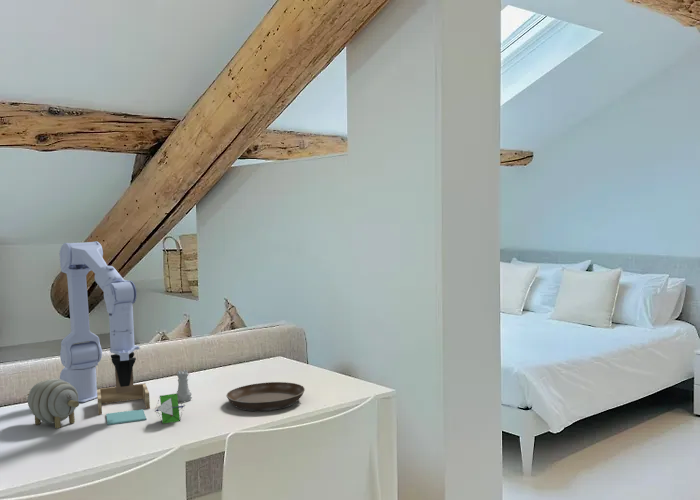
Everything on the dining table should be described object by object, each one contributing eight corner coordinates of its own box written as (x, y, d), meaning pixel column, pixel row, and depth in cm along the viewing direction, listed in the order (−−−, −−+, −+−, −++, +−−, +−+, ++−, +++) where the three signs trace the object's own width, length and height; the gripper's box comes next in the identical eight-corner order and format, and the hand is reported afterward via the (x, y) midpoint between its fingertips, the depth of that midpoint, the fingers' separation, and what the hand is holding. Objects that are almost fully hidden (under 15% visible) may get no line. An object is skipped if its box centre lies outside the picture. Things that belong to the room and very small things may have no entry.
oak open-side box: (97, 403, 184) (97, 388, 183) (145, 397, 188) (145, 383, 188) (98, 414, 173) (97, 399, 172) (149, 408, 177) (149, 393, 177)
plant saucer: (210, 410, 175) (210, 397, 175) (255, 390, 193) (254, 378, 193) (279, 418, 166) (278, 404, 166) (318, 396, 185) (318, 384, 184)
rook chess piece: (187, 402, 182) (186, 373, 181) (172, 402, 183) (171, 372, 182) (194, 398, 186) (193, 369, 186) (179, 397, 187) (178, 369, 187)
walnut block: (115, 389, 170) (114, 364, 170) (132, 387, 172) (131, 362, 172) (116, 393, 167) (115, 367, 166) (133, 391, 168) (132, 365, 168)
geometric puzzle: (152, 409, 168) (154, 388, 164) (180, 405, 171) (182, 384, 167) (156, 432, 163) (158, 411, 159) (185, 428, 166) (188, 407, 162)
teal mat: (106, 415, 172) (106, 413, 172) (143, 410, 175) (143, 409, 175) (107, 425, 163) (107, 423, 163) (146, 419, 167) (146, 418, 167)
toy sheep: (48, 415, 174) (46, 372, 173) (98, 421, 167) (95, 377, 166) (13, 427, 164) (10, 382, 164) (63, 434, 157) (61, 387, 157)
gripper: (140, 332, 163) (143, 388, 164) (136, 324, 177) (138, 376, 177) (109, 335, 161) (112, 392, 161) (107, 327, 174) (110, 379, 175)
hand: (124, 384), depth 169 cm, fingers closed on walnut block, 4 cm apart
